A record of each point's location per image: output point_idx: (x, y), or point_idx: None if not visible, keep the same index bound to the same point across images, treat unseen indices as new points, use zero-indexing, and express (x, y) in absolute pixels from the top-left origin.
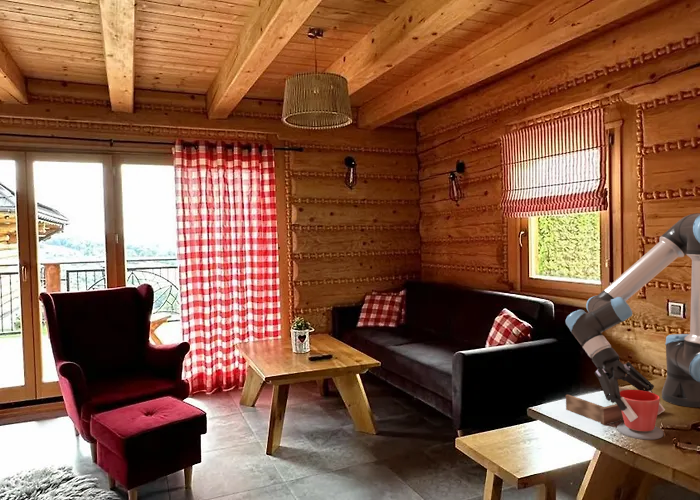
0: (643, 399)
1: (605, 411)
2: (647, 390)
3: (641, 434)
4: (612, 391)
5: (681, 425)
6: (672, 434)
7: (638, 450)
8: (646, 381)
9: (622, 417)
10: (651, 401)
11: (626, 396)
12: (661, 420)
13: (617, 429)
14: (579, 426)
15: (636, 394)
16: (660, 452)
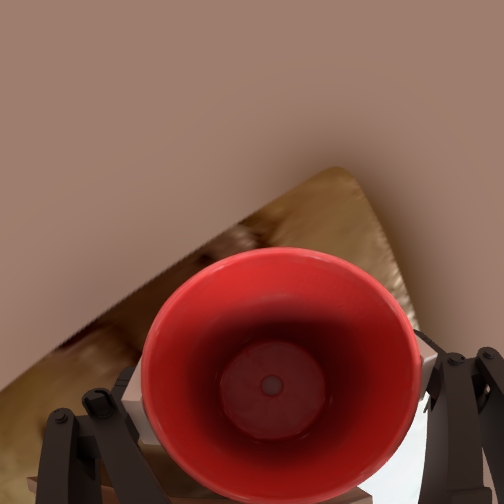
0: (188, 423)
1: (354, 496)
2: (125, 423)
3: None
4: (493, 370)
5: (94, 359)
6: None
7: (383, 270)
8: (63, 453)
9: (236, 501)
10: (300, 248)
11: (284, 480)
12: None
13: None
14: None
15: (208, 462)
16: (336, 242)
